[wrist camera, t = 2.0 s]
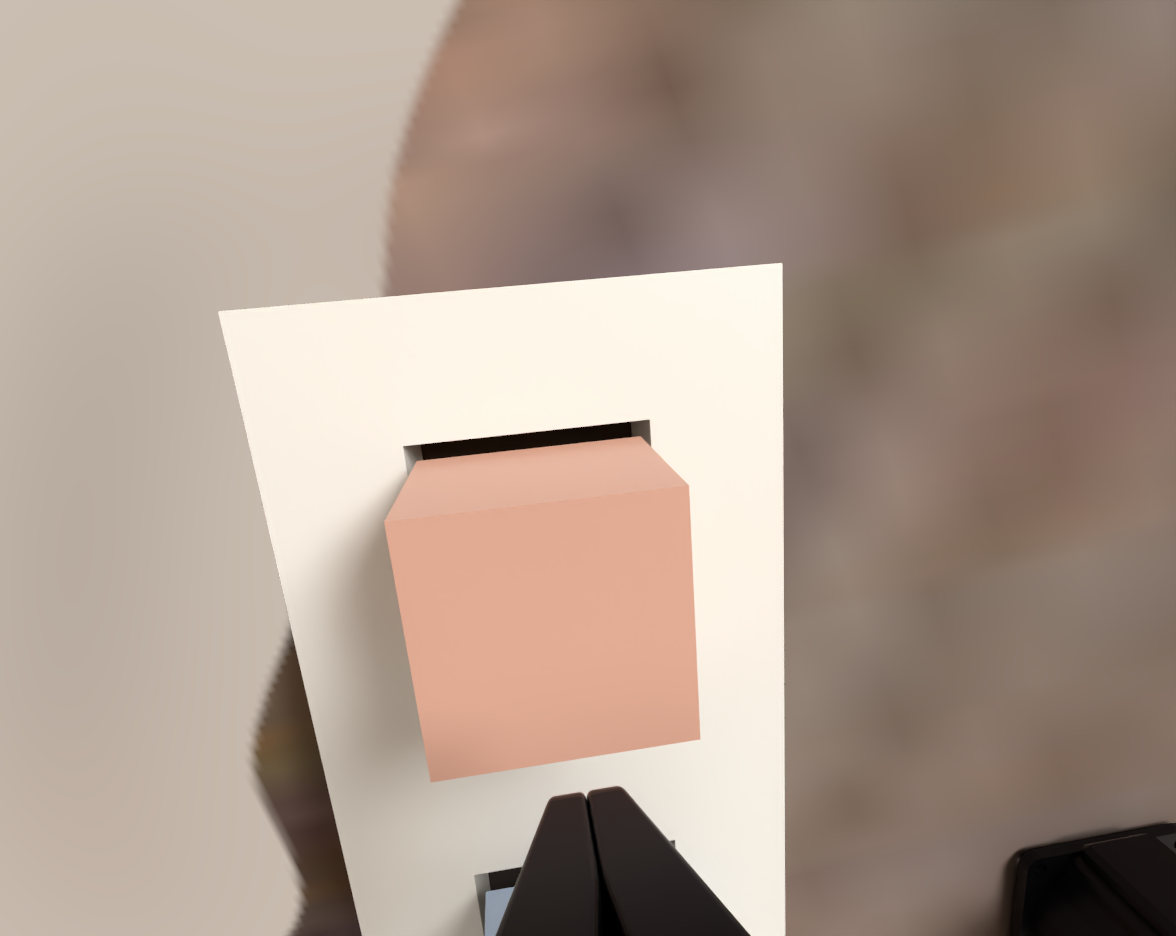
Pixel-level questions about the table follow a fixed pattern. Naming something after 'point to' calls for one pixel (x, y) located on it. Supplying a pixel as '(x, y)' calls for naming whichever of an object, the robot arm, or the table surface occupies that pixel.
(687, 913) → the robot arm
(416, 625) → the terracotta key
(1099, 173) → the table surface
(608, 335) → the key panel
